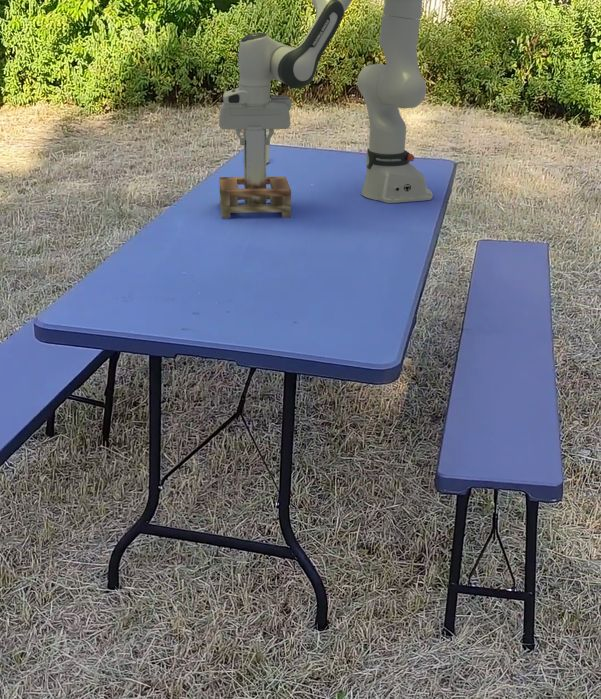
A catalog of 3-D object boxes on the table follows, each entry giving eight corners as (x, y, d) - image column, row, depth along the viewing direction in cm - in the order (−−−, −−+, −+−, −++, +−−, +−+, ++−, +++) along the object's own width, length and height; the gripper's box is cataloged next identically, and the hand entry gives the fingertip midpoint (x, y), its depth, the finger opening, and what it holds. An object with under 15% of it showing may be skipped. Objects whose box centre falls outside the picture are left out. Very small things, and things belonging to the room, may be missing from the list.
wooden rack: (285, 202, 262) (285, 176, 258) (290, 217, 248) (291, 190, 245) (220, 203, 259) (219, 177, 256) (221, 218, 246) (221, 191, 243)
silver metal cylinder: (265, 212, 251) (265, 127, 240) (243, 212, 251) (242, 126, 240) (267, 206, 257) (266, 122, 245) (245, 205, 257) (244, 121, 246)
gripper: (290, 92, 243) (289, 141, 249) (218, 93, 241) (219, 142, 247) (292, 97, 237) (291, 146, 244) (218, 97, 235) (219, 147, 241)
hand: (254, 144), depth 245 cm, fingers closed on silver metal cylinder, 6 cm apart
